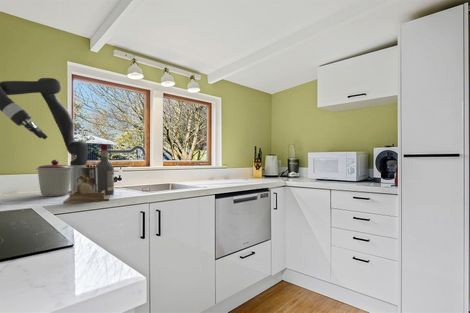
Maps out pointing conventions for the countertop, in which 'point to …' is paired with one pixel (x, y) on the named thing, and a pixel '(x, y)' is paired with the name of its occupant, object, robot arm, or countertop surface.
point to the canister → (54, 179)
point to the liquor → (105, 172)
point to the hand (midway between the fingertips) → (44, 137)
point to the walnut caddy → (87, 197)
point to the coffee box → (87, 180)
